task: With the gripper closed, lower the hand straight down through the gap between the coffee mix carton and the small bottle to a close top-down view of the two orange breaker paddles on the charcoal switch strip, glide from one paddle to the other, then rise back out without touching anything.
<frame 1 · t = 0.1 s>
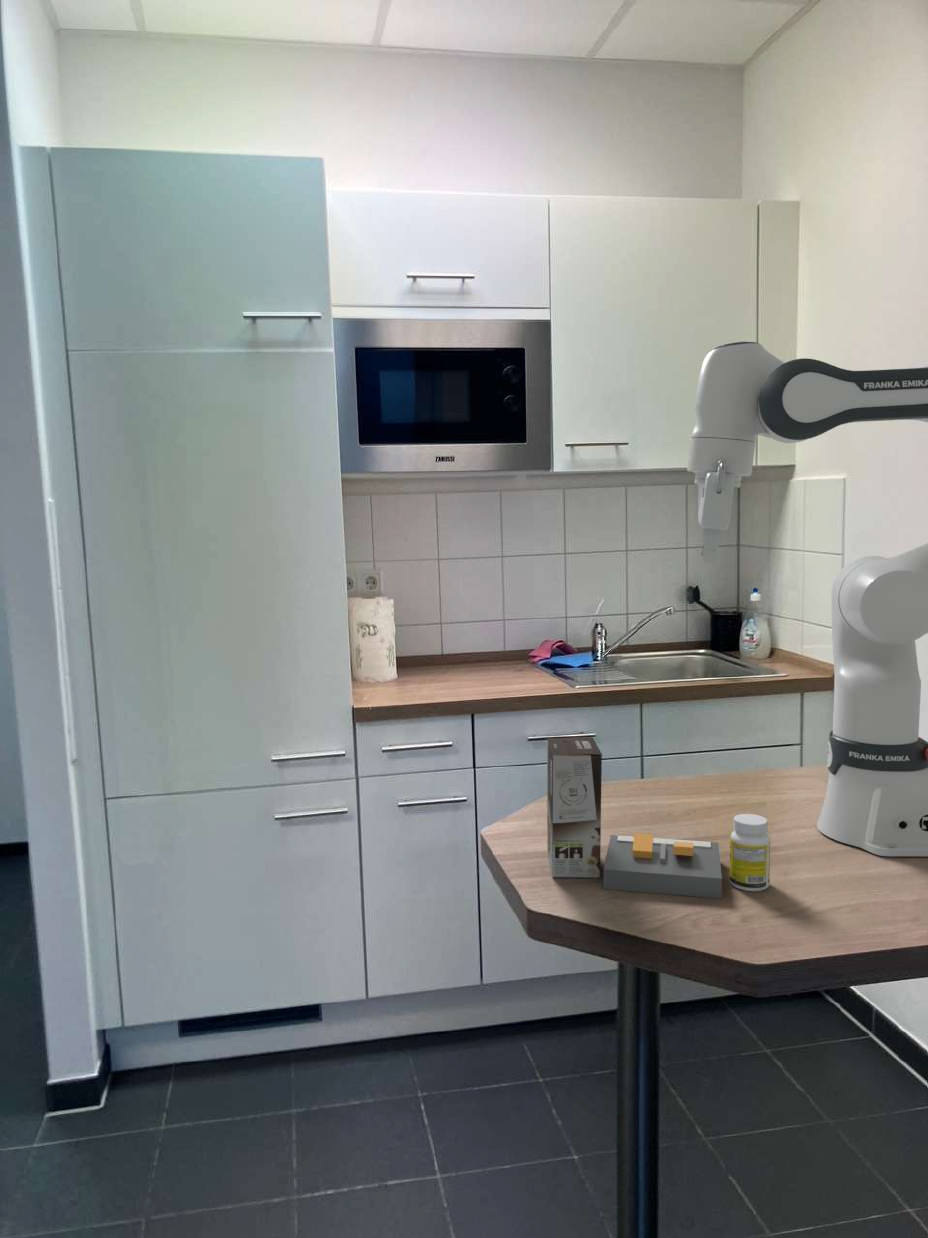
hand: (707, 559, 132), 39 cm above the table, tool pointing down, fingers open, 8 cm apart
paddle b: (642, 845, 118), point 4 cm above the table, hinge at -12.0°
switch strip: (662, 874, 118), on the table
supplement bottle: (749, 886, 115), on the table
coffee box: (573, 866, 122), on the table
paddle a: (683, 848, 117), point 4 cm above the table, hinge at 12.0°
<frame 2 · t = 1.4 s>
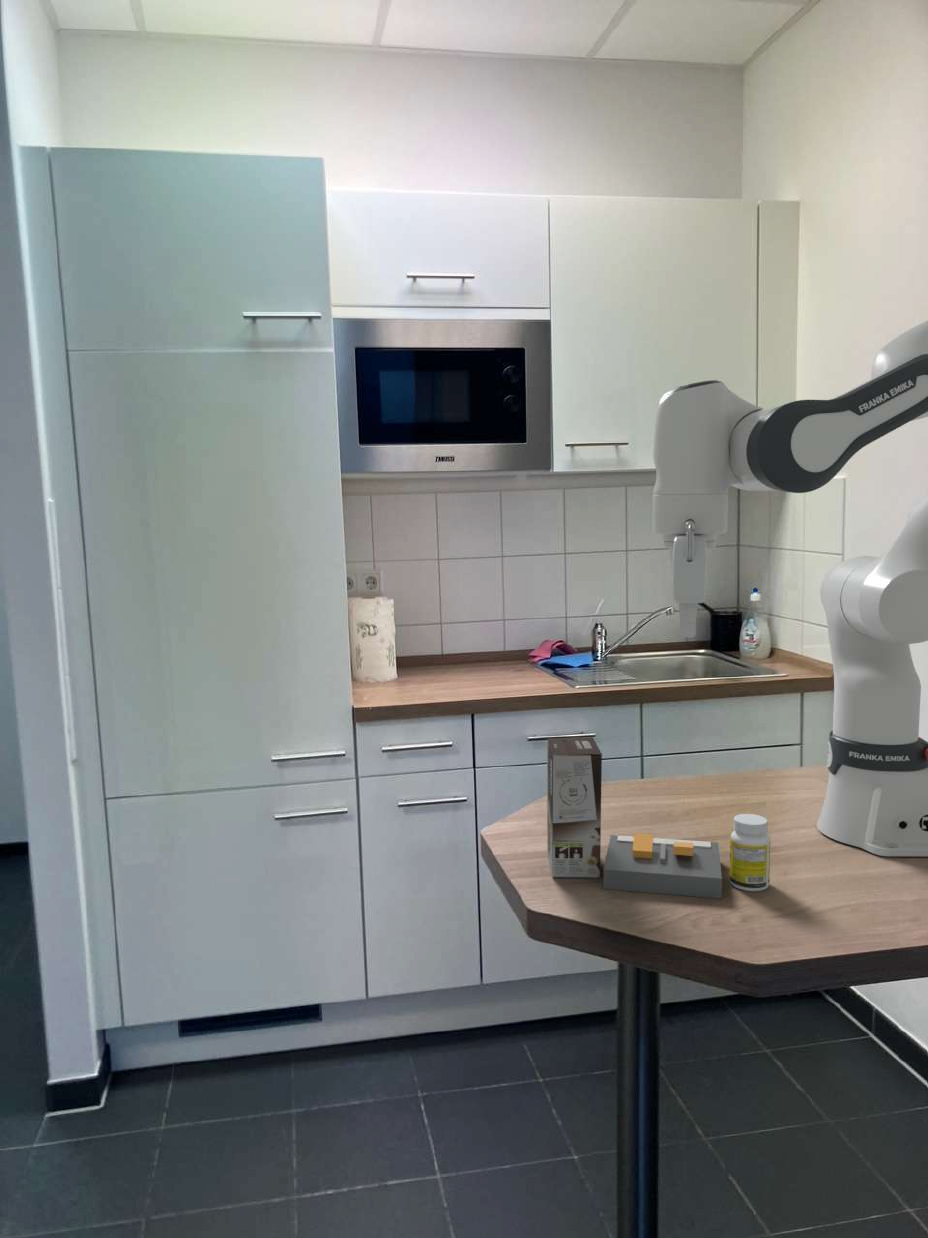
hand: (687, 632, 114), 31 cm above the table, tool pointing down, fingers open, 5 cm apart
nothing on the table moved.
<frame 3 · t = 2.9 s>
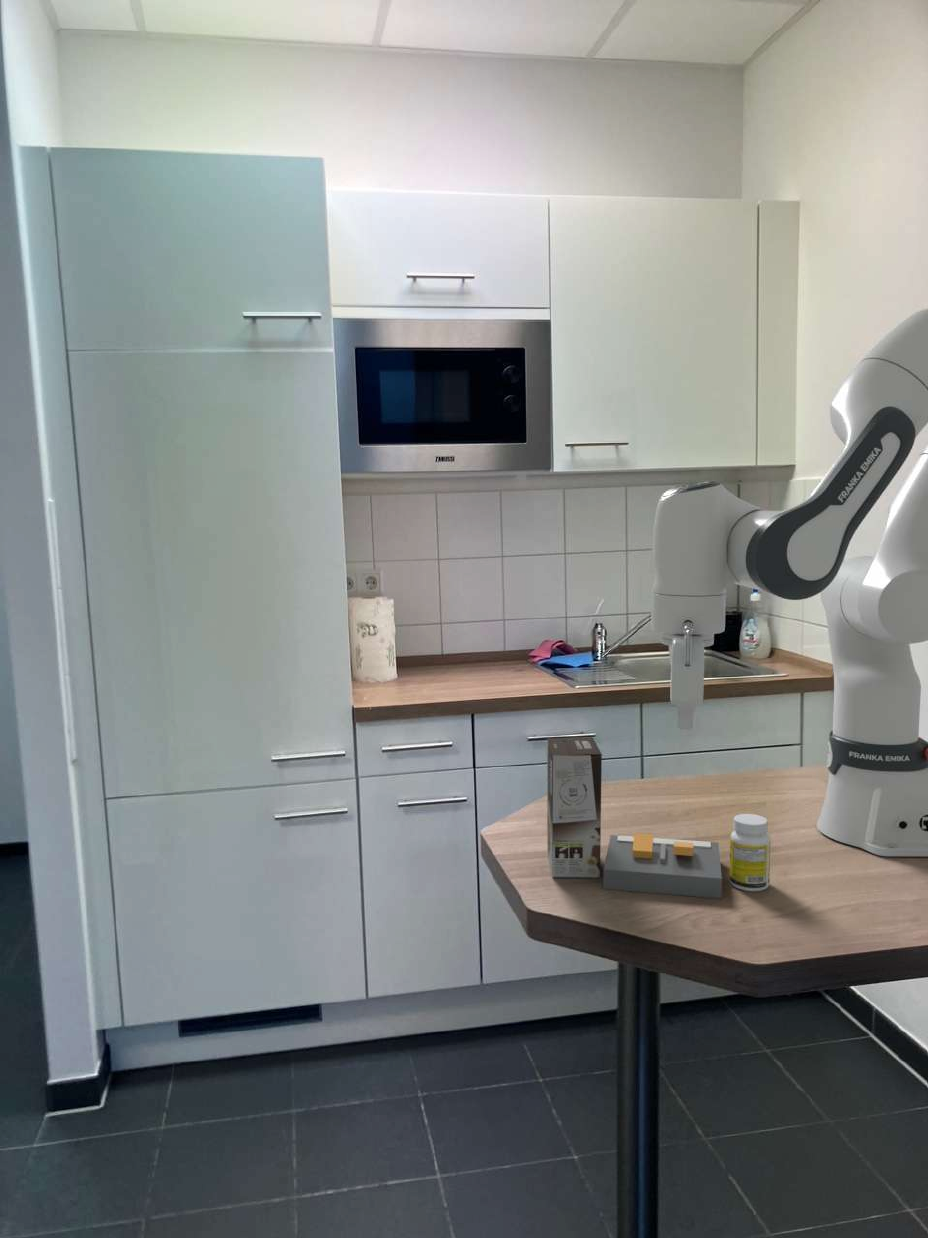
hand: (685, 727, 115), 19 cm above the table, tool pointing down, fingers closed
nothing on the table moved.
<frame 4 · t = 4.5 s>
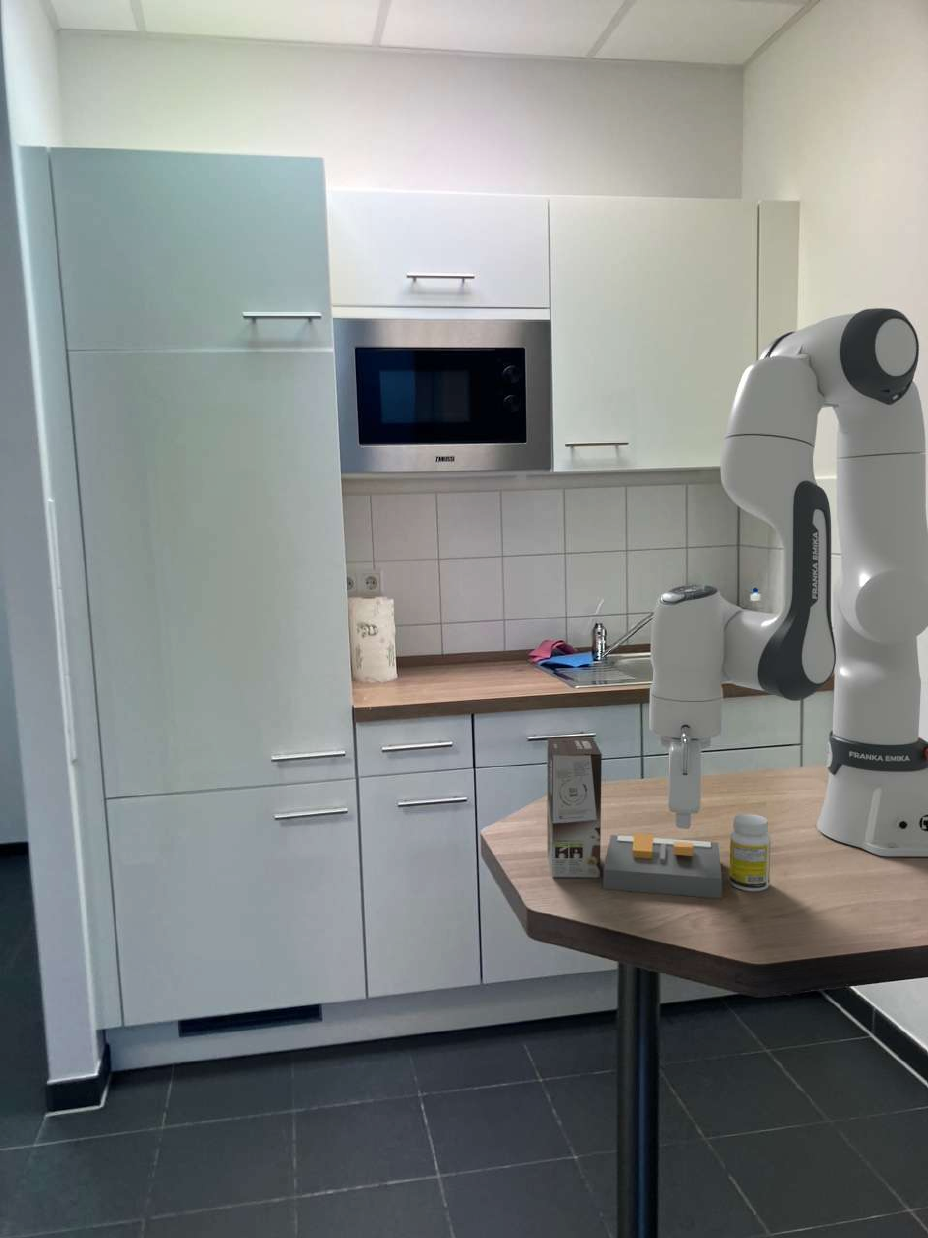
hand: (683, 824, 117), 7 cm above the table, tool pointing down, fingers closed
nothing on the table moved.
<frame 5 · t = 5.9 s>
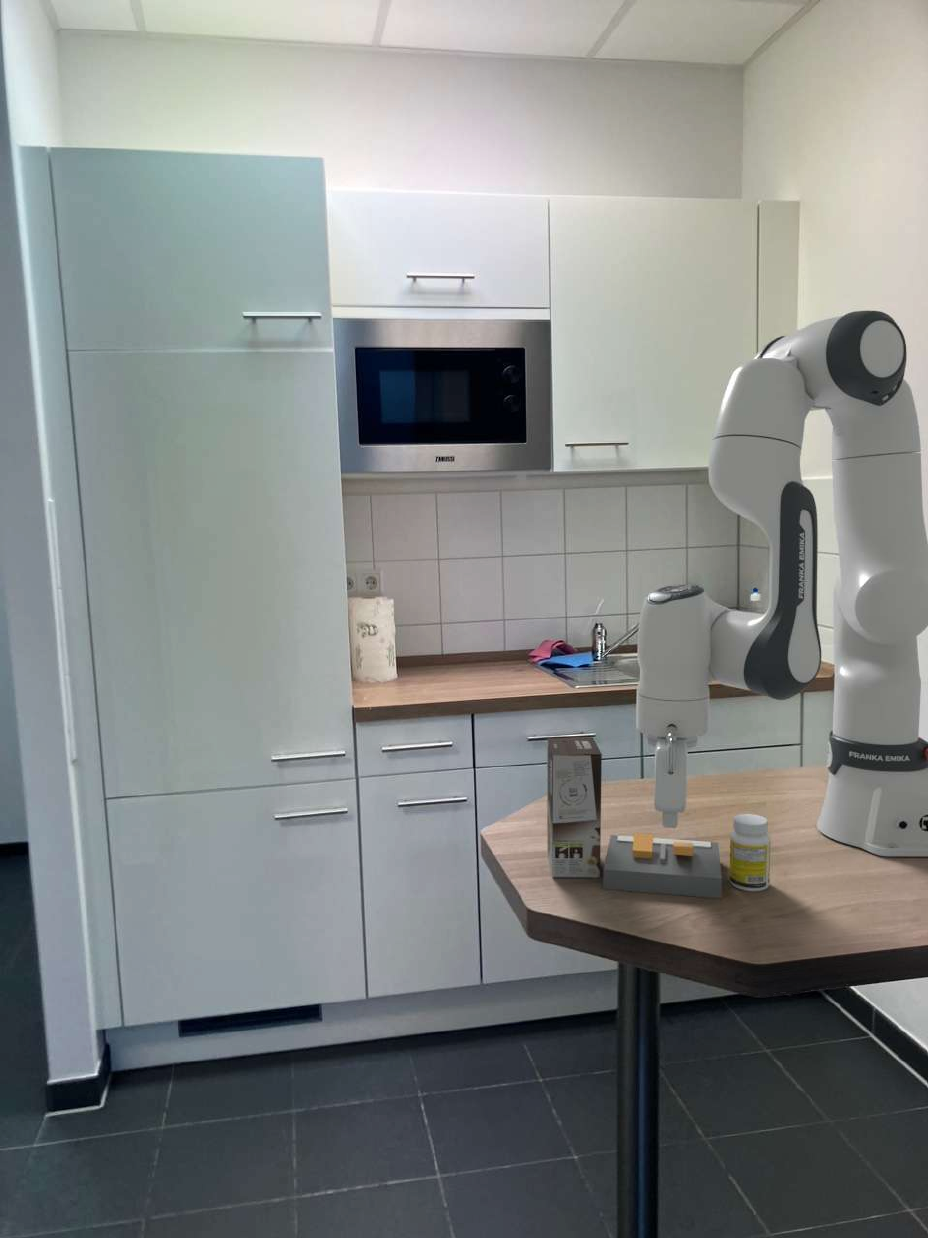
hand: (669, 824, 117), 7 cm above the table, tool pointing down, fingers closed
nothing on the table moved.
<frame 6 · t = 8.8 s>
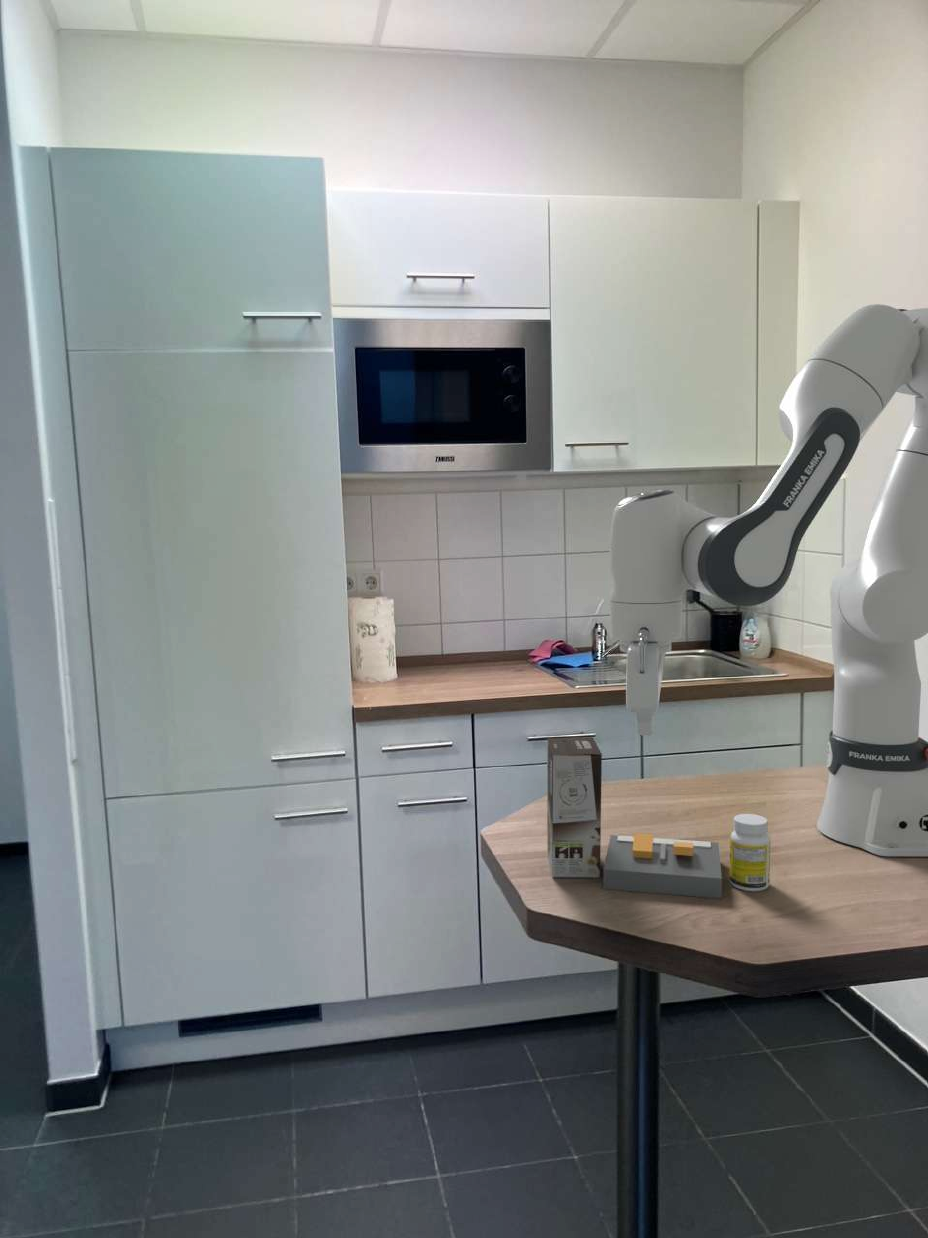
hand: (645, 732, 116), 18 cm above the table, tool pointing down, fingers closed
nothing on the table moved.
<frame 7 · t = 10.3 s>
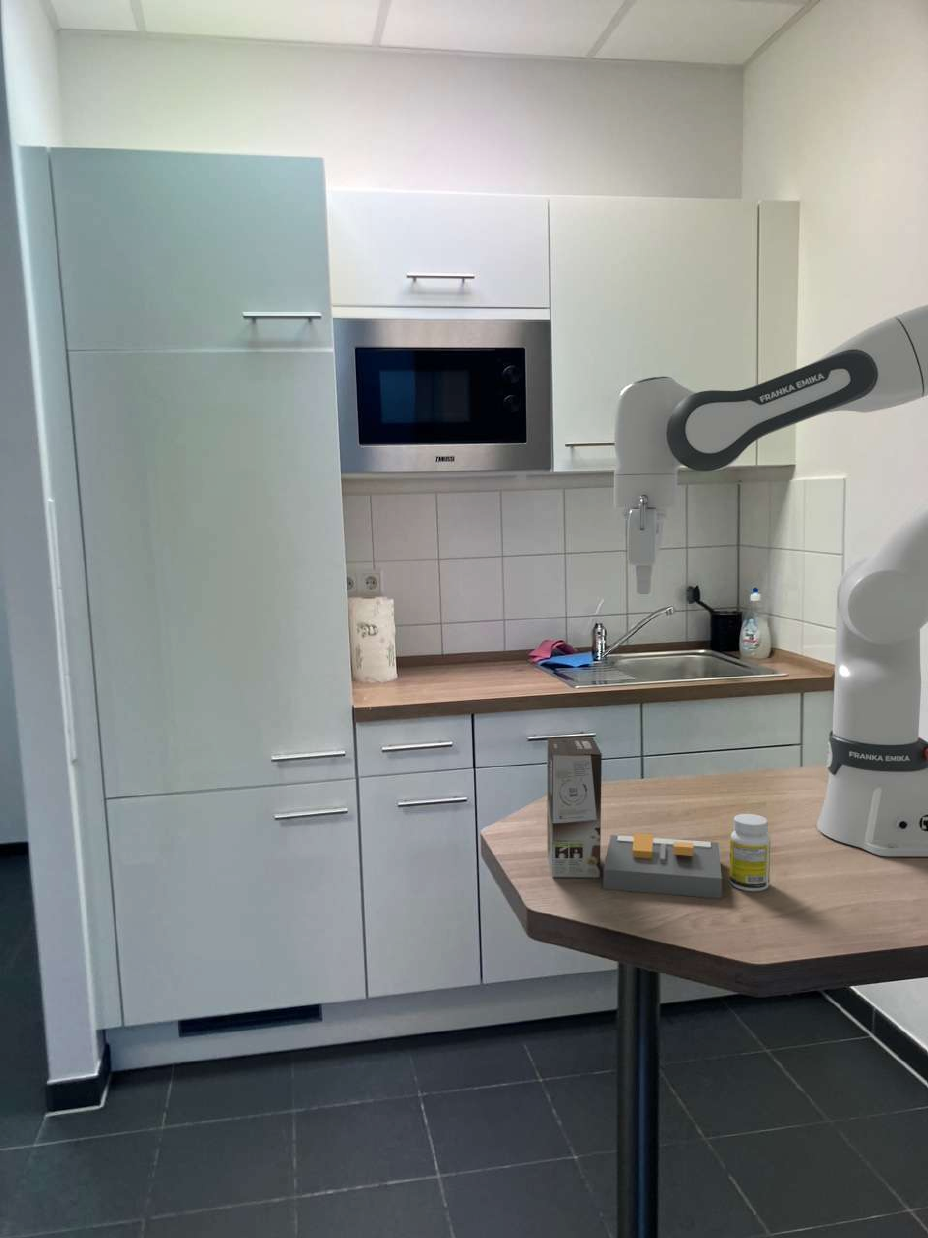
hand: (643, 593, 133), 34 cm above the table, tool pointing down, fingers closed
nothing on the table moved.
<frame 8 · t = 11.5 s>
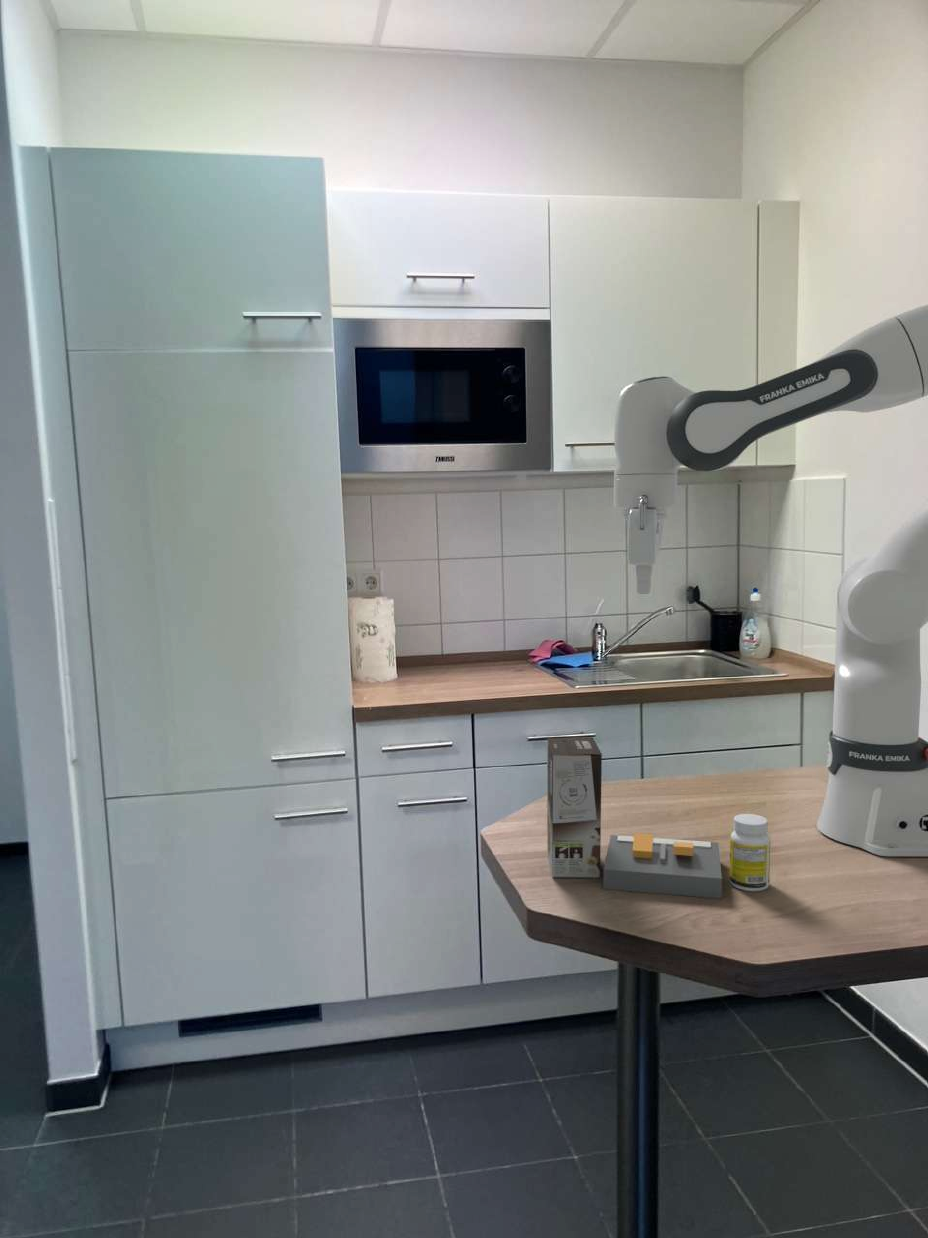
hand: (643, 593, 133), 34 cm above the table, tool pointing down, fingers closed
nothing on the table moved.
at the end: coffee box moved 0.2 cm from its start; supplement bottle moved 0.2 cm from its start; paddle a at +12° (first picture: +12°) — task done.
